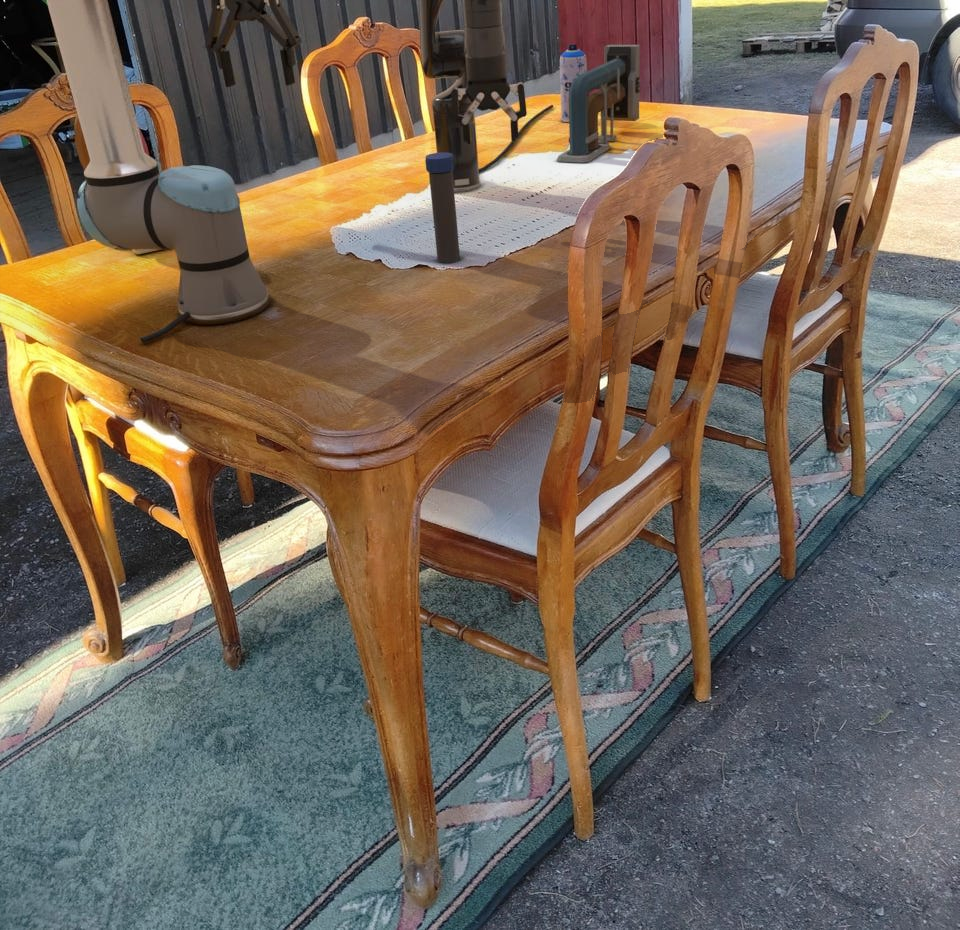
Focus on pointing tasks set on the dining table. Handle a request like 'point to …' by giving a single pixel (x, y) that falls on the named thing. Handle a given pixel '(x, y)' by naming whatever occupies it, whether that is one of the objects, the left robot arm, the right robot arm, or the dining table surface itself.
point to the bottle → (444, 216)
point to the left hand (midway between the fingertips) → (260, 85)
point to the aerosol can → (570, 75)
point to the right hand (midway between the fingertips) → (491, 142)
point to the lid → (439, 162)
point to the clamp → (602, 102)
